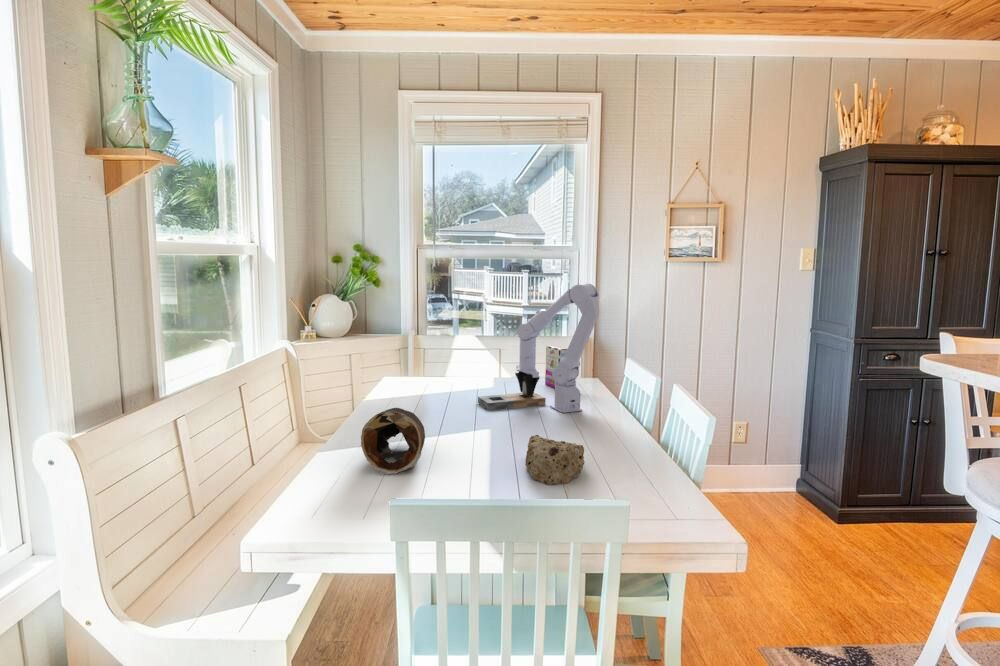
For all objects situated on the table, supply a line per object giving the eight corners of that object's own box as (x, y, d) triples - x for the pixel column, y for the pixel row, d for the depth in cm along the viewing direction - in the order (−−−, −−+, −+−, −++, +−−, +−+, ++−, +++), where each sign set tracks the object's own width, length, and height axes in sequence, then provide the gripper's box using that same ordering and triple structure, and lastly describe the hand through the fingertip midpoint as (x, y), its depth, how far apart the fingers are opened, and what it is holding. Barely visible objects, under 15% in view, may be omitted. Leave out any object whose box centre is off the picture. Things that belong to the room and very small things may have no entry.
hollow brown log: (427, 400, 168) (418, 406, 143) (434, 455, 167) (426, 470, 142) (374, 407, 168) (356, 414, 143) (381, 462, 167) (364, 478, 142)
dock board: (545, 404, 213) (545, 398, 213) (488, 410, 204) (488, 403, 204) (533, 398, 222) (533, 392, 222) (477, 403, 214) (477, 396, 213)
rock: (519, 460, 158) (528, 424, 157) (572, 473, 158) (581, 437, 158) (523, 481, 137) (534, 439, 137) (584, 496, 137) (595, 454, 137)
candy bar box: (569, 389, 239) (570, 348, 237) (558, 390, 237) (559, 349, 235) (555, 383, 249) (556, 344, 247) (544, 384, 247) (545, 345, 245)
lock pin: (532, 403, 215) (533, 381, 214) (524, 404, 214) (525, 382, 213) (528, 401, 218) (529, 379, 217) (520, 402, 216) (521, 380, 215)
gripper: (509, 353, 219) (508, 390, 220) (526, 360, 205) (525, 398, 207) (526, 352, 221) (525, 388, 223) (544, 359, 208) (543, 397, 210)
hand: (526, 393), depth 215 cm, fingers open, 5 cm apart
